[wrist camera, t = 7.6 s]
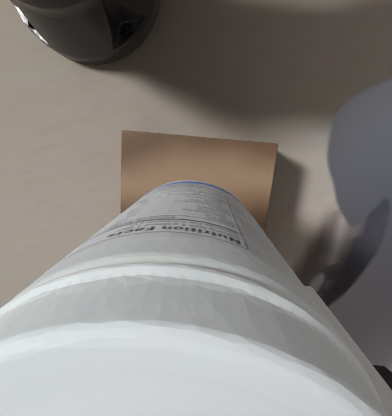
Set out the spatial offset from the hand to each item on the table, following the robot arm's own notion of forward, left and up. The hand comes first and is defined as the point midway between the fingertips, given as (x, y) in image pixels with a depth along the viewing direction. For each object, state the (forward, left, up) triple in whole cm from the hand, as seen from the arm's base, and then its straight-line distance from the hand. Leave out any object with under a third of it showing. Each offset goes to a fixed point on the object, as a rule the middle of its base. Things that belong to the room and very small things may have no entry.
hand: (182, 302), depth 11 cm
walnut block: (0, 0, -21) cm, 21 cm away
